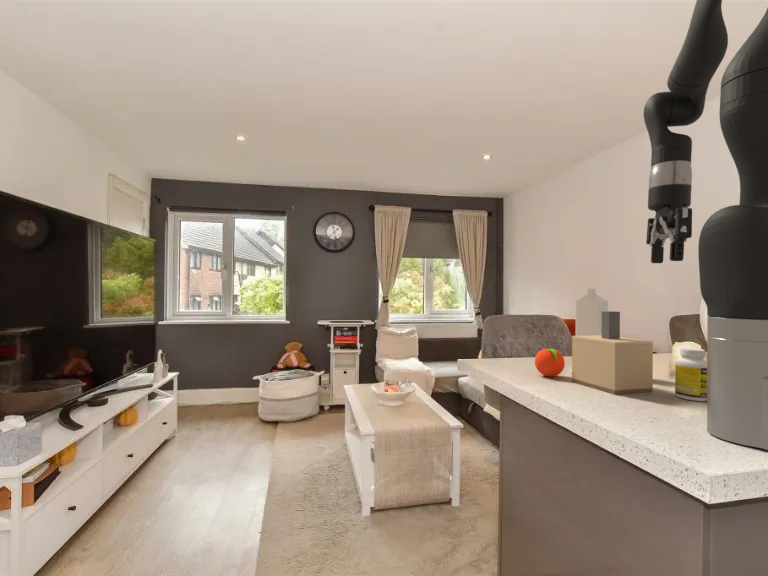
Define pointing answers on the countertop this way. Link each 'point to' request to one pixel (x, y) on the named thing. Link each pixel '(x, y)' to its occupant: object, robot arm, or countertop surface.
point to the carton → (613, 366)
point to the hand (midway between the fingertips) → (666, 262)
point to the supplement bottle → (691, 375)
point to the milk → (590, 314)
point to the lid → (611, 332)
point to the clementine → (549, 362)
